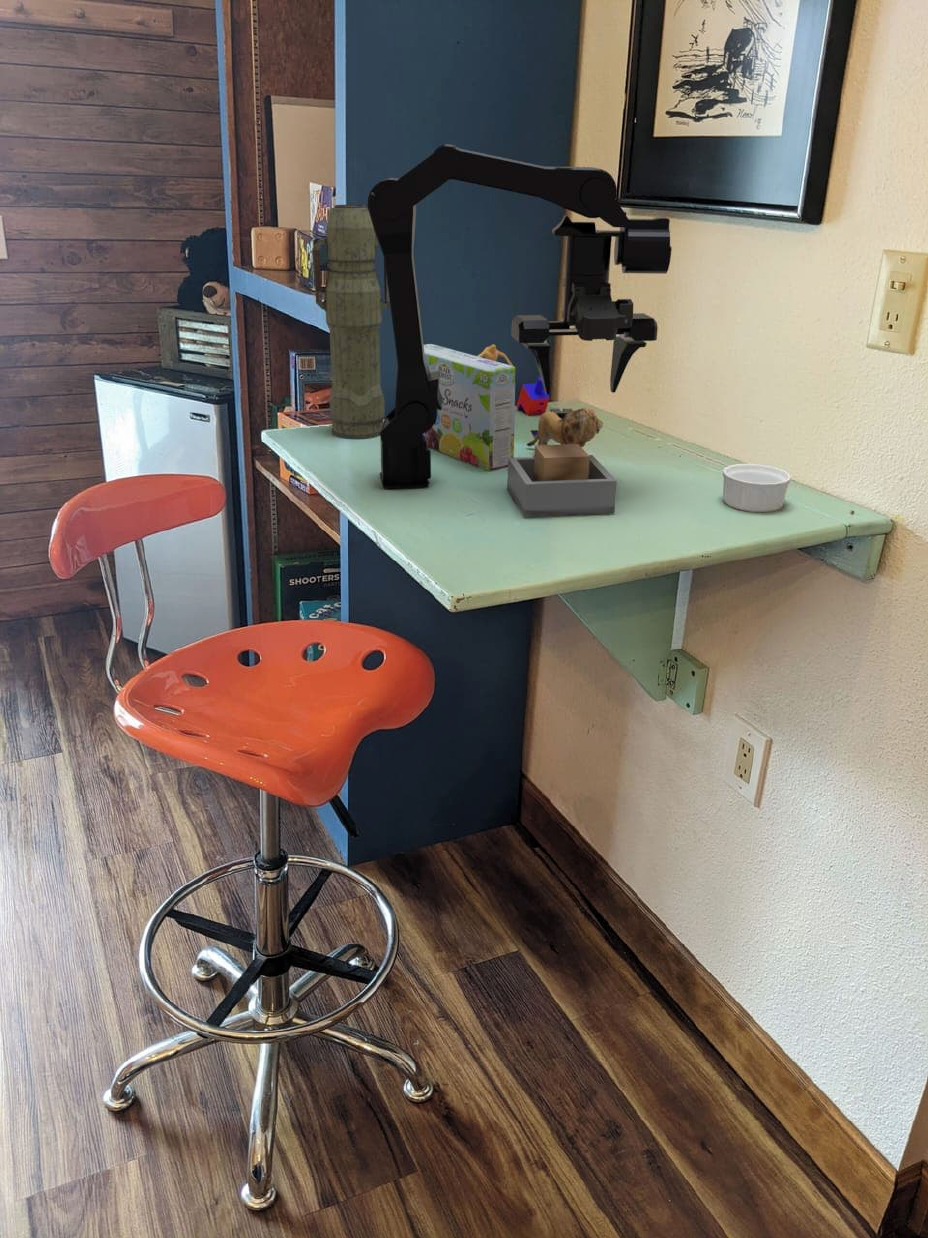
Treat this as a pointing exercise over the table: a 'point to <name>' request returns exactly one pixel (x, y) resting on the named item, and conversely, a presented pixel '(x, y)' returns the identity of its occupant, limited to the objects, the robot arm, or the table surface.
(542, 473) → the walnut cube
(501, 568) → the table surface
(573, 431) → the lion figurine
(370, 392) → the thermos
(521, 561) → the table surface
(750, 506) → the ramekin
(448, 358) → the snack box
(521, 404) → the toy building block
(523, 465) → the grey square tray
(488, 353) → the figurine
